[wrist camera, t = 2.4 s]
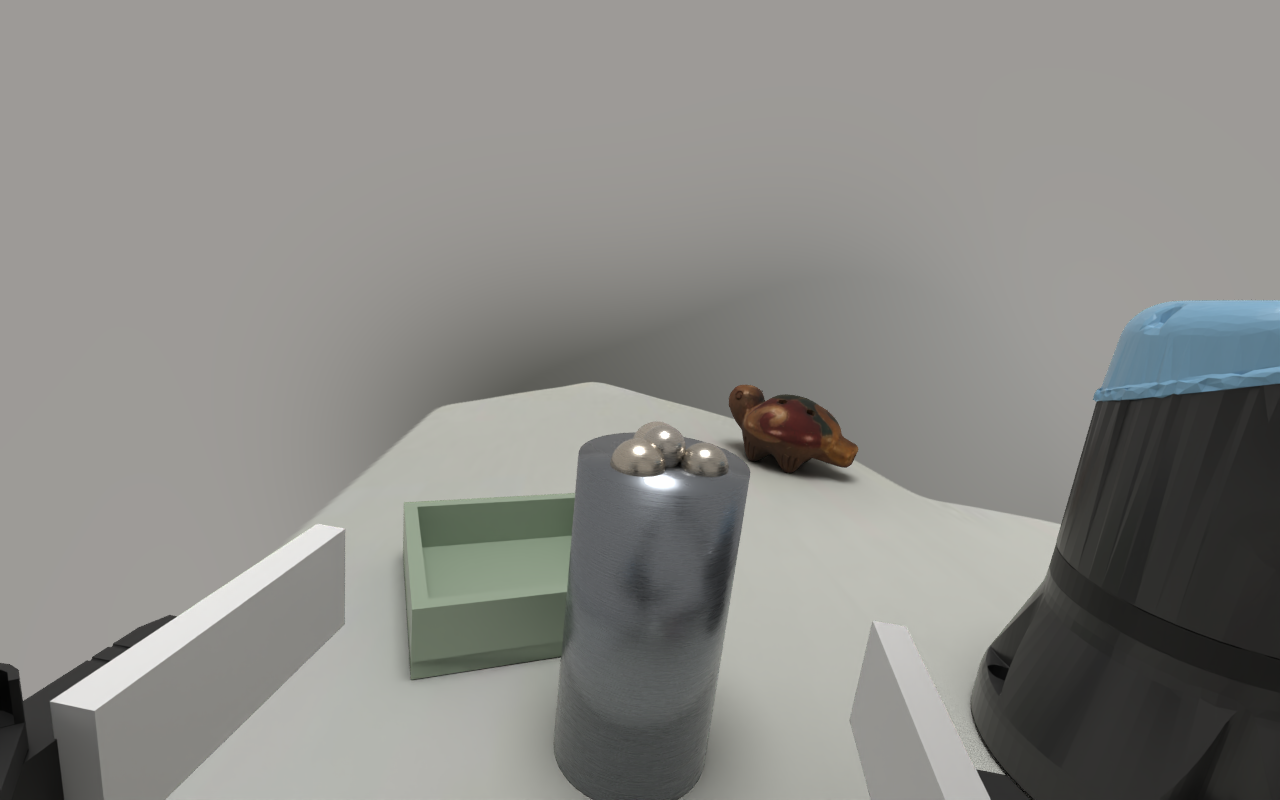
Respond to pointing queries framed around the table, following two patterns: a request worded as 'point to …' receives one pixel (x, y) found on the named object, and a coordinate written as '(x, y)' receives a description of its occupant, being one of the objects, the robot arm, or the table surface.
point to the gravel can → (646, 611)
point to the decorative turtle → (788, 429)
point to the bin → (485, 581)
